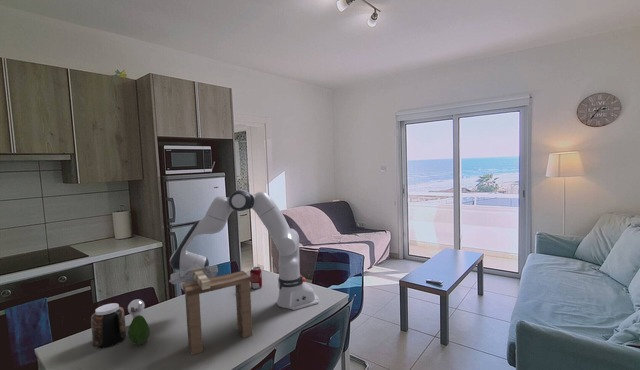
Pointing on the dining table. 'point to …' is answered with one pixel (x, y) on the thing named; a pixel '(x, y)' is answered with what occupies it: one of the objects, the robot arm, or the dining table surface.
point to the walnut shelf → (219, 282)
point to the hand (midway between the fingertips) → (197, 270)
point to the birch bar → (201, 278)
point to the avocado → (138, 330)
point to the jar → (108, 326)
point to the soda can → (256, 277)
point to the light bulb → (136, 308)
